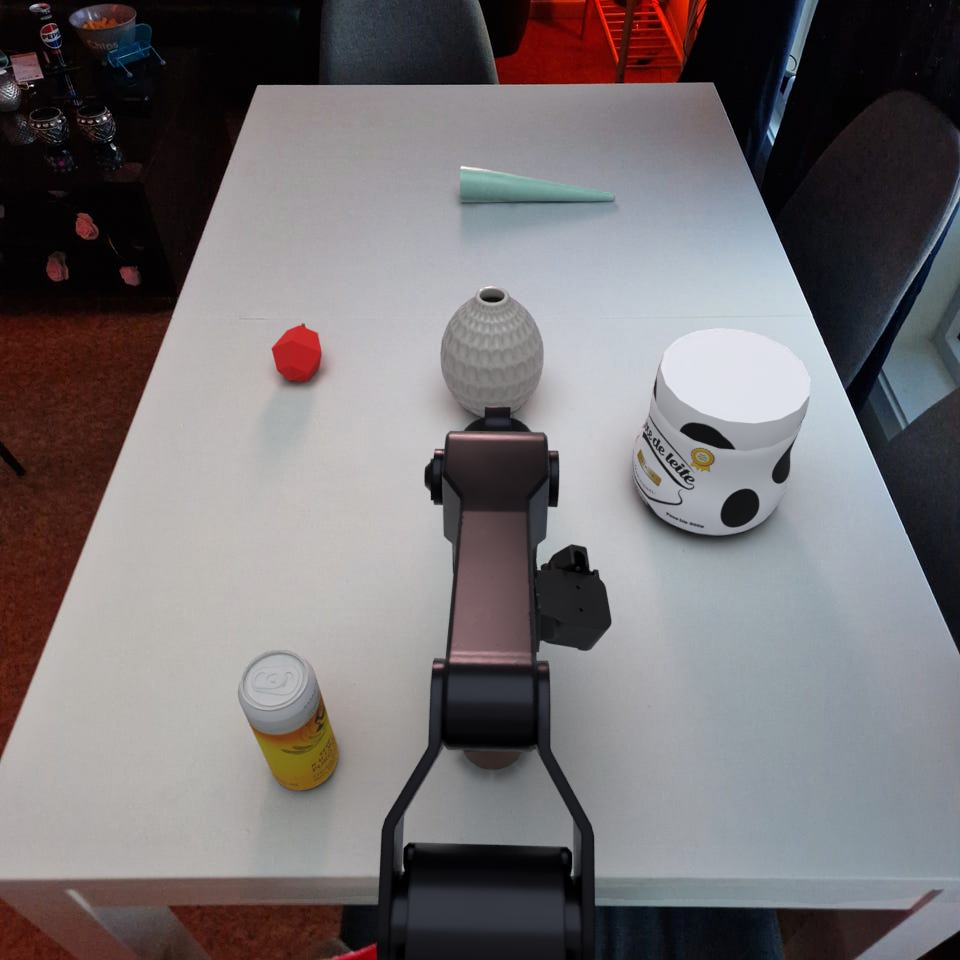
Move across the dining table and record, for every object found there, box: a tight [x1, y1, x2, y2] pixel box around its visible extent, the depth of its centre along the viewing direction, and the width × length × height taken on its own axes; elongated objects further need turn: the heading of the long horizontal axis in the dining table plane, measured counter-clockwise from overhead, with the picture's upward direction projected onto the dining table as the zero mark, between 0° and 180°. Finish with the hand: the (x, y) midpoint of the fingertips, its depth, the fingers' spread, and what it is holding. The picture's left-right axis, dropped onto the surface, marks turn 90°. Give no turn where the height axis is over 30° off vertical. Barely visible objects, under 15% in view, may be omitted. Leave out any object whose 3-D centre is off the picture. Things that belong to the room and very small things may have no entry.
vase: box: [439, 285, 545, 418], centre depth 102 cm, size 13×13×17 cm
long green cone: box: [459, 165, 616, 203], centre depth 141 cm, size 5×6×27 cm
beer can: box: [237, 648, 339, 791], centre depth 69 cm, size 6×6×15 cm
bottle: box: [463, 751, 523, 770], centre depth 72 cm, size 6×6×13 cm
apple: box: [271, 322, 323, 383], centre depth 110 cm, size 7×7×8 cm
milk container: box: [631, 327, 811, 537], centre depth 90 cm, size 17×17×18 cm
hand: (493, 683), depth 69 cm, fingers closed on cap, 4 cm apart
